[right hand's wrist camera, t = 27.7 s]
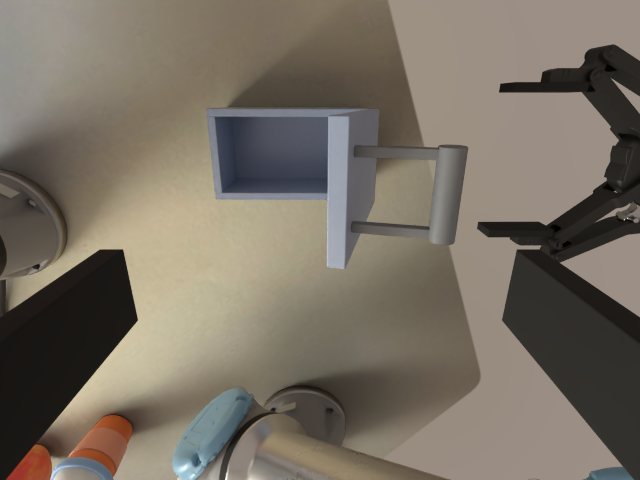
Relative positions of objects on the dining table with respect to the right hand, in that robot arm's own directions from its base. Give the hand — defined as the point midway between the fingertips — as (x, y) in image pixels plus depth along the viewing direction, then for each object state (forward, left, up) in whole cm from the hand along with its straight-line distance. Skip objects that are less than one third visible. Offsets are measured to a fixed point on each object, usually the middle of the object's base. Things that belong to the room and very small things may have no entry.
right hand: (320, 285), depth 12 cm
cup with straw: (-56, +26, -39) cm, 74 cm away
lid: (+1, -3, -21) cm, 21 cm away
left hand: (+4, -16, -25) cm, 30 cm away
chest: (-1, +3, -39) cm, 39 cm away
